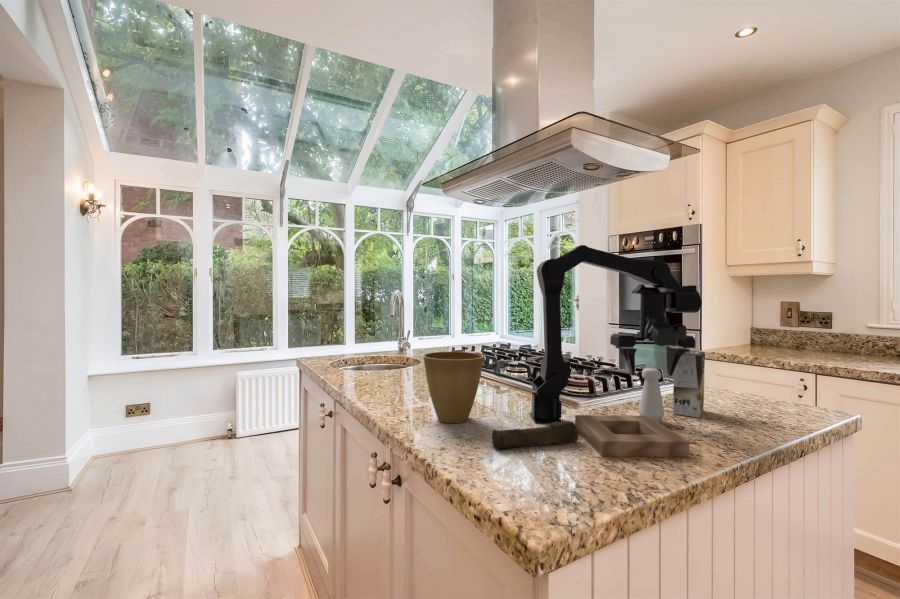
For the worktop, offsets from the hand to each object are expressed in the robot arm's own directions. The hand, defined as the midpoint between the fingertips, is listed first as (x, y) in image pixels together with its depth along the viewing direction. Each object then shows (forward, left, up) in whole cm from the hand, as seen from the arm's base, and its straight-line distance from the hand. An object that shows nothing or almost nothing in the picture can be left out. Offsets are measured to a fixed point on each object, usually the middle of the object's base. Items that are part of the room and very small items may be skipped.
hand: (651, 375), depth 104 cm
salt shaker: (0, 0, -12) cm, 12 cm away
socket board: (-12, -14, -11) cm, 22 cm away
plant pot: (-49, +1, -12) cm, 50 cm away
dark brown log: (-32, -16, -12) cm, 38 cm away
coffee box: (+14, +8, -12) cm, 20 cm away
